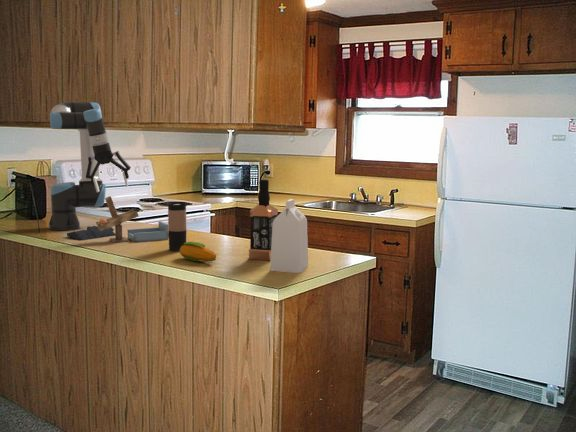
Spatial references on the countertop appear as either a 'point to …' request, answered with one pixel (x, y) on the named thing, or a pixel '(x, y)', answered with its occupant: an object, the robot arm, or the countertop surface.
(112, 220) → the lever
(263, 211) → the whiskey bottle
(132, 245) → the countertop surface
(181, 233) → the travel mug
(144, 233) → the bin
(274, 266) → the milk
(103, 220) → the ball
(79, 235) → the dark slate chunk
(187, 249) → the corn
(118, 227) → the fulcrum
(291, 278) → the countertop surface
